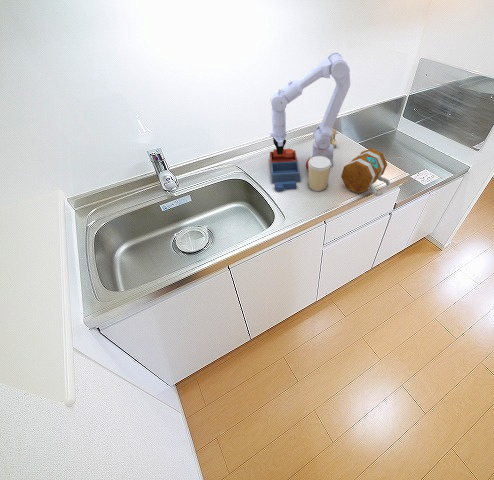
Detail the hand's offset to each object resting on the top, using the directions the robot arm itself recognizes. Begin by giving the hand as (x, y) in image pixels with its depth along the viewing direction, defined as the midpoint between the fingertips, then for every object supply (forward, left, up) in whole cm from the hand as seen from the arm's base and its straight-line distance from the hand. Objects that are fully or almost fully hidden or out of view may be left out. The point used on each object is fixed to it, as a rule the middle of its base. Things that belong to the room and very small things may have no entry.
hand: (279, 152), depth 127 cm
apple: (-15, +8, -7) cm, 18 cm away
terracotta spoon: (-2, 0, -1) cm, 2 cm away
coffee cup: (-15, +18, -7) cm, 24 cm away
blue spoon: (-1, +18, -6) cm, 19 cm away
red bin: (-2, 0, -6) cm, 7 cm away
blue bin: (-2, +10, -6) cm, 12 cm away
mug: (-31, +26, -1) cm, 40 cm away
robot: (-26, -16, -6) cm, 31 cm away
